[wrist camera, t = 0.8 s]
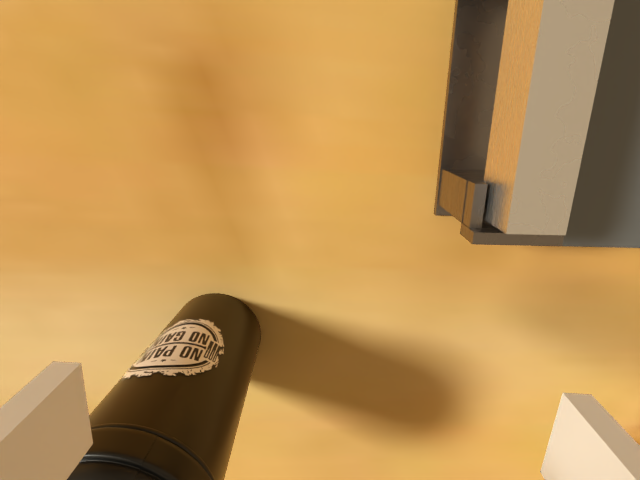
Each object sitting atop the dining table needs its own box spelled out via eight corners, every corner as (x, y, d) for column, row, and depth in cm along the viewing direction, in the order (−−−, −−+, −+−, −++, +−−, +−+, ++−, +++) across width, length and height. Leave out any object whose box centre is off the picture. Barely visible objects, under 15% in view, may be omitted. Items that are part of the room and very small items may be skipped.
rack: (462, -68, 29) (524, -155, 19) (546, -68, 28) (646, -155, 19) (433, 213, 35) (470, 247, 26) (502, 214, 35) (563, 249, 26)
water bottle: (263, 282, 37) (166, 519, 15) (274, 374, 40) (205, 683, 18) (159, 287, 38) (-83, 523, 16) (176, 377, 41) (-6, 683, 19)
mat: (617, -109, 28) (625, -116, 27) (748, -109, 27) (760, -116, 27) (548, 243, 35) (553, 245, 34) (650, 245, 35) (657, 248, 34)
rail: (521, -93, 22) (566, -143, 18) (583, -92, 22) (644, -143, 18) (478, 216, 28) (506, 233, 23) (529, 217, 28) (565, 235, 23)
